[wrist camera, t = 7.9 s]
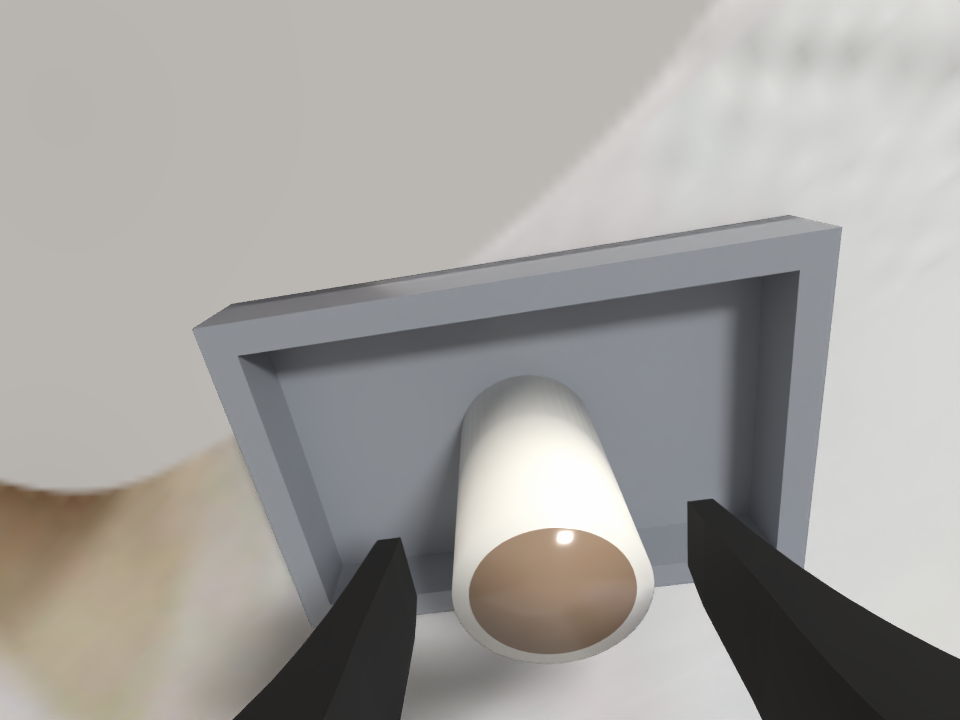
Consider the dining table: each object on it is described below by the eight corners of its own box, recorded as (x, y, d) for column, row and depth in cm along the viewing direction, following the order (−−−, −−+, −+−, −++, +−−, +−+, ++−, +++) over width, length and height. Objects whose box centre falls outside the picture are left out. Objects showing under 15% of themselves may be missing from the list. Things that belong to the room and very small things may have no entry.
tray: (767, 521, 20) (803, 569, 18) (329, 575, 21) (311, 627, 19) (789, 215, 16) (841, 227, 13) (231, 304, 17) (191, 328, 15)
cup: (595, 479, 19) (656, 655, 12) (472, 494, 19) (468, 674, 13) (586, 366, 17) (653, 501, 11) (451, 384, 17) (434, 527, 11)
